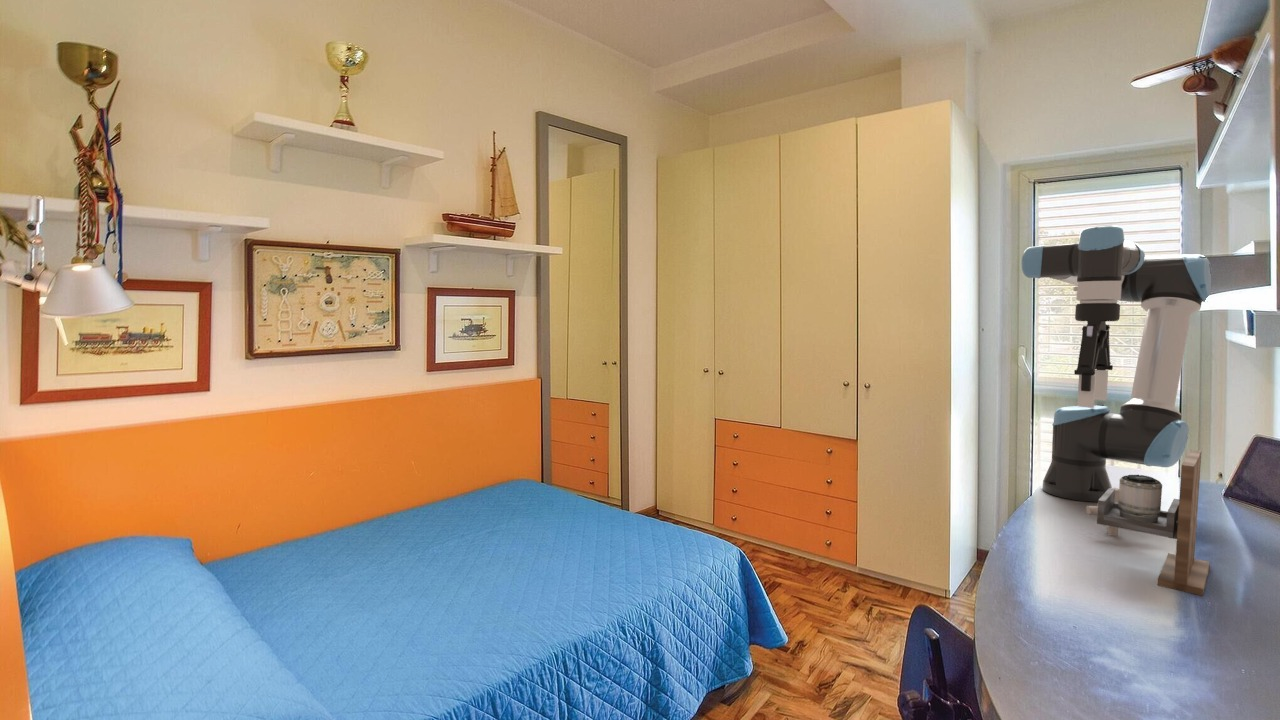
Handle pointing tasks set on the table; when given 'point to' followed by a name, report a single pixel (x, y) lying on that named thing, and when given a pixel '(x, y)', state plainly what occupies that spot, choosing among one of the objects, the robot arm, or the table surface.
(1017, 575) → the table surface
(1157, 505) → the camera lens
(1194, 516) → the cup bracket
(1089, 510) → the pipe connector
